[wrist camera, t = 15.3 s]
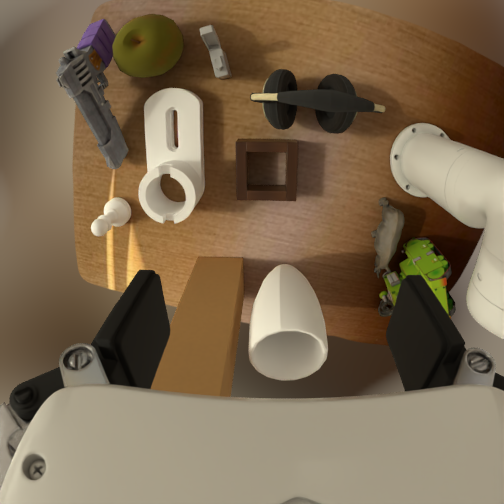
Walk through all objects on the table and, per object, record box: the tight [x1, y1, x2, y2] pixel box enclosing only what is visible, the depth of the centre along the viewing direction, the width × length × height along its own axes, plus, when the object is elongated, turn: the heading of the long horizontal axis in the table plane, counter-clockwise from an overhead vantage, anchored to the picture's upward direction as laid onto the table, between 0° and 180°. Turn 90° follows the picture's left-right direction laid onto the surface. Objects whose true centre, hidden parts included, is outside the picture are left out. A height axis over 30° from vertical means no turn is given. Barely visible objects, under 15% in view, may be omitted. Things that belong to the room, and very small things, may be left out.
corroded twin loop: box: [378, 299, 394, 317], centre depth 56 cm, size 5×8×1 cm, turn 147°
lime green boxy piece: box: [374, 237, 455, 319], centre depth 48 cm, size 13×16×14 cm
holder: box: [236, 139, 298, 201], centre depth 45 cm, size 9×9×4 cm
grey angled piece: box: [200, 25, 232, 79], centre depth 35 cm, size 7×2×8 cm, turn 13°
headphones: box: [250, 69, 385, 134], centre depth 33 cm, size 9×15×20 cm, turn 89°
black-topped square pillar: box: [150, 257, 244, 397], centre depth 41 cm, size 8×8×35 cm
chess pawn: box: [91, 197, 131, 236], centre depth 47 cm, size 5×5×9 cm
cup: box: [249, 264, 328, 380], centre depth 45 cm, size 10×10×22 cm
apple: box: [112, 14, 184, 78], centre depth 34 cm, size 10×10×11 cm
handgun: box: [56, 19, 129, 169], centre depth 39 cm, size 3×22×15 cm
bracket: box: [139, 88, 205, 224], centre depth 43 cm, size 20×9×7 cm, turn 179°
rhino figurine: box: [371, 197, 404, 278], centre depth 48 cm, size 4×14×6 cm, turn 178°
